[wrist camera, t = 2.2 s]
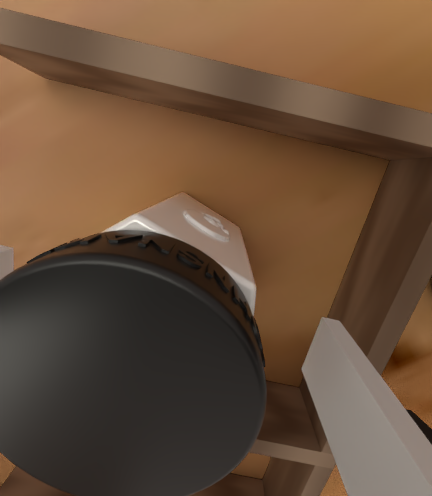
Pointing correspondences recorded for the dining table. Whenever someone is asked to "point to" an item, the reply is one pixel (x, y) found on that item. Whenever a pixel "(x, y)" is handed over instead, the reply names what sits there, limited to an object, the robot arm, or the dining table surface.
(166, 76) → the lane organizer
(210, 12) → the dining table surface
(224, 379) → the jar
